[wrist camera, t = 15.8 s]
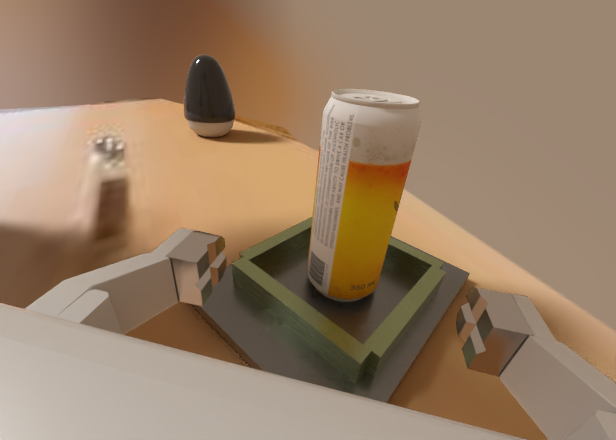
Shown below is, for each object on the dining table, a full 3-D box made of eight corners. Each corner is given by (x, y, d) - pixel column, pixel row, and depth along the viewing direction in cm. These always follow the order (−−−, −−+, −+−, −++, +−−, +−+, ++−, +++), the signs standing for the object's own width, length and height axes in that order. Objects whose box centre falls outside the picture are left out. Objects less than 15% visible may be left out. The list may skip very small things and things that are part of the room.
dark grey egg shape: (224, 126, 70) (219, 53, 63) (243, 138, 63) (241, 57, 56) (180, 129, 65) (169, 50, 57) (196, 143, 58) (186, 54, 50)
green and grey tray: (346, 466, 15) (356, 439, 13) (185, 298, 24) (180, 269, 22) (465, 281, 28) (477, 256, 27) (334, 217, 37) (338, 195, 36)
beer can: (390, 284, 26) (445, 102, 18) (343, 319, 22) (388, 108, 14) (339, 250, 29) (366, 87, 22) (292, 275, 26) (305, 89, 18)
